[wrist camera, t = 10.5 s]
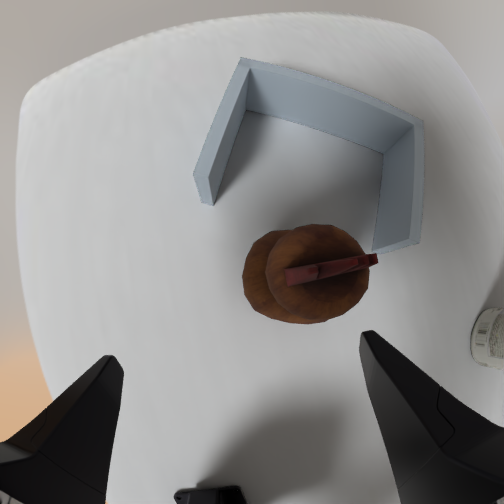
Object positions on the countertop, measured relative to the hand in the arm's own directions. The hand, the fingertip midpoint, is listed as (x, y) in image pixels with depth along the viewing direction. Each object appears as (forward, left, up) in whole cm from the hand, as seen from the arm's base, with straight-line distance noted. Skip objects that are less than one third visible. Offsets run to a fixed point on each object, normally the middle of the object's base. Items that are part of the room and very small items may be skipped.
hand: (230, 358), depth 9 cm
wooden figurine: (+2, -5, -13) cm, 14 cm away
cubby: (+10, -9, -13) cm, 19 cm away
